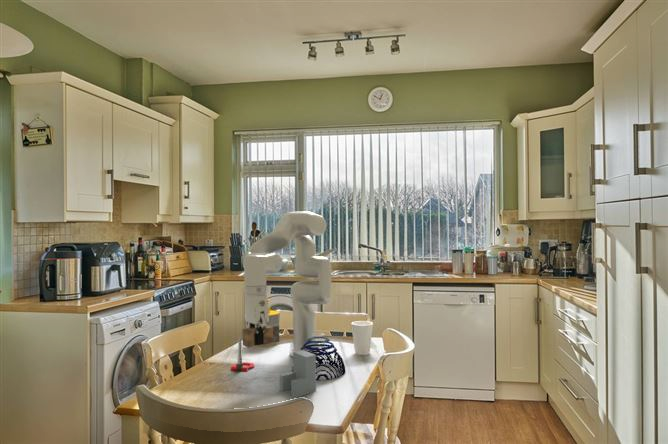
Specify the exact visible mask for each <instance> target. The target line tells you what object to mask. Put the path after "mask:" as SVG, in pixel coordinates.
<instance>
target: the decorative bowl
mask: <svg viewBox="0 0 668 444" xmlns="http://www.w3.org/2000/svg"><path fill="white" fill-rule="evenodd" d="M312 336H315V337H313V338H309V339H308V340H307V342H306V343H305V344H304V345H303V347H302V348H301V350H303V349H304V348H305V349H308V350H309V351H307V352H309V353H312V354H315V355H316V369H318V368H321V367H323V368H327V369H328V370H327V369H318V370H317V371H316V382H317V381H318V382H319V381H323V379H321V378H322V377H324V378H325V381H331V380H335V379H339V378H341V377H342V376H344V375H345V374H346V364H345V363H344V358H342V356H341V354H339V352H338V349H337V347H336V346H335V345H334V343H333V342H331V339H330V338H328V337H325V336H326V334H325V333H323V332H315V333H313V334H312ZM311 339H315V341H312V340H311ZM316 339H323V340H316ZM310 343H316V344H312V345H307V346H306V344H310ZM317 343H324V344H317ZM312 346H324V347H322V348H317V347H316V348H315V347H312ZM330 349H333V350H331V351H328V350H330ZM313 350H317V351H313ZM310 351H311V352H310ZM314 352H319V353H314ZM332 354H334V355H333V357H332ZM291 367H292V369H291V372H293V366H291ZM333 369H334V370H333ZM329 371H330V372H329ZM320 372H321V373H320ZM322 372H325V373H322ZM318 373H319V374H318ZM333 376H334V377H333Z"/></svg>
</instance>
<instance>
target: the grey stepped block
mask: <svg viewBox="0 0 668 444" xmlns="http://www.w3.org/2000/svg"><path fill="white" fill-rule="evenodd" d="M316 357H317V356H316V355H315V354H312V353H309V352H307V351H304V350H300V351H295V352H293V357H292V367H293V372H292V371H288V372H286V373H282V374H281V373H280V374H279V390H280V391H281V392H284V391H289V390H290V396H291V397H292V398H295V399H296V398H298V397H302V396H305V395H306V396H307V395H308V394H309V393H312V392H315V391H317V381H316V377H317V374H316V372H317V368H316V366H317V365H316V362H317V361H316Z"/></svg>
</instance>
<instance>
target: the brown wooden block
mask: <svg viewBox="0 0 668 444" xmlns="http://www.w3.org/2000/svg"><path fill="white" fill-rule="evenodd" d="M258 328H259V327H258ZM241 330H242V346H243V347H246V348H252V347H259V346H258V345H255V338H254V333H256V332H255V327H253V328H248V327H247V328H242V329H241ZM274 342H278V343H279V342H280V324H279V325H276V324H269V325H267V327H266V328H265V329H264V343H263V344H261V345H264V344H269V343H274Z"/></svg>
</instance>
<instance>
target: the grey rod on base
mask: <svg viewBox="0 0 668 444" xmlns="http://www.w3.org/2000/svg"><path fill="white" fill-rule="evenodd" d="M242 346H243V341H242V336H239V337H238V346H237V347H238V348H237V350H238V351H237V352H238V355H237V363H233V364H232V366H231V367H230V371H239V372H249V370H251V369H253V368H255V363H252V362H243V357H242Z"/></svg>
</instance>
